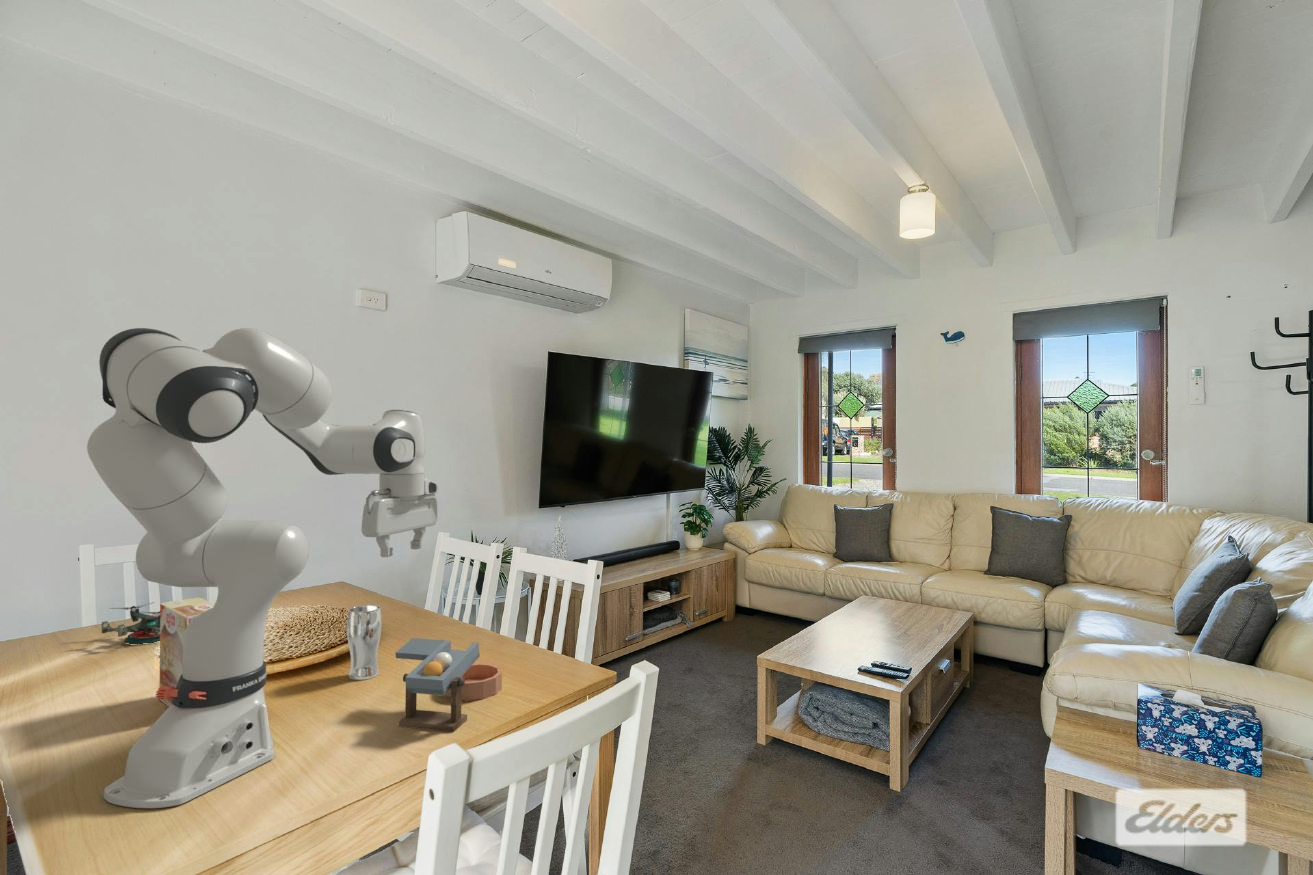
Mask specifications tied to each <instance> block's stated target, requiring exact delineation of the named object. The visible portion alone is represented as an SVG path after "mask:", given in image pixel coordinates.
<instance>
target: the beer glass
mask: <svg viewBox="0 0 1313 875" xmlns="http://www.w3.org/2000/svg"><path fill="white" fill-rule="evenodd" d="M347 613H348V614H347V623H346V625H347V626H346V636H347V642H348V649H349V653H350V669H349V672H348V678H349V679H350V680H353V681H365V680H369V679H373V678H374V677H375V678H376V677H377V676H379V666H378V651H379V645H380V641H381V636H382V635H381V634H382V611H381V606H380V605H378V604H362V605H357V606H353V607H350V608H349V609H348V612H347Z"/></svg>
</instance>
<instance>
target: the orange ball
mask: <svg viewBox="0 0 1313 875" xmlns="http://www.w3.org/2000/svg"><path fill="white" fill-rule="evenodd" d="M442 672H443V668H442V666H441V664H440V663H438V662H435V661H433V662H429V663H428V664H426V666H425V667H424V669H423V675H430V676H441V675H442Z"/></svg>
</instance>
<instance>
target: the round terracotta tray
mask: <svg viewBox="0 0 1313 875" xmlns="http://www.w3.org/2000/svg"><path fill="white" fill-rule="evenodd" d="M462 678H464V679H465V683H464V686H462V692H461V701H469V702H470V701H477V700H484V699H486V698H489V697H492V696H495V695H497V694H498V693H499V692H500V691H502V688H503V681H502V680H503V672H502V668H501V667H500V666H499V665H495V664H493V663H482V662H481V663H480V662H479V663H473V664H472V666H471V667H470V668H469V669H468V670H467V671H466V672H465V673H464V674H463V675H462ZM446 696H447V697H448V698H450V699H451V689H450V690H449V691H448V692H447V693H446Z"/></svg>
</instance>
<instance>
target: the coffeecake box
mask: <svg viewBox="0 0 1313 875" xmlns="http://www.w3.org/2000/svg"><path fill="white" fill-rule="evenodd" d="M159 605H160V608H159V609H160V610H159V611H160V643H159V687H158V688H160V687H161V686H169V687H172V686H173V687H175V688H176V686H177V683H178V681H179V678H180V676H181V675H182V674H183V634H184V631H185V629H186V627H187V626H188V625H189V623H190V622H191V621H192V620H193V619H194V618H195V617H197V616H198V615H200V614H202V613H203V612H205V611H207V610H209V609H211V608H213V607H214V605H215V603H213V602H210V601H208V600H207V599H204V598H202V597H199V596H198V597H193V598H186V599H179V600H178V599H177V600H170V601H166V602H161V603H160V604H159ZM171 700H172V699H171ZM171 700H166V699H160V700H159V701H160V702H161V703H163V704H164V705H166V706H167V707H168V708H169V707H170V705H171V704H172V703H171Z"/></svg>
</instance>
